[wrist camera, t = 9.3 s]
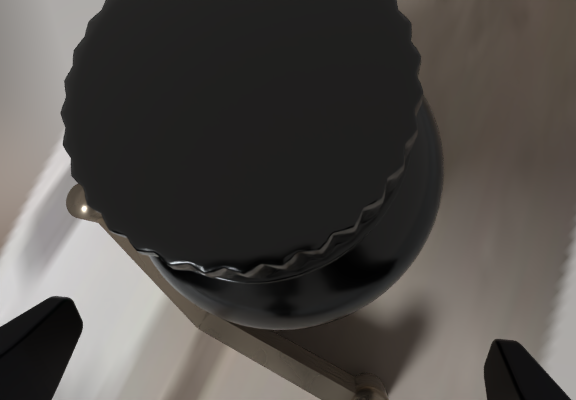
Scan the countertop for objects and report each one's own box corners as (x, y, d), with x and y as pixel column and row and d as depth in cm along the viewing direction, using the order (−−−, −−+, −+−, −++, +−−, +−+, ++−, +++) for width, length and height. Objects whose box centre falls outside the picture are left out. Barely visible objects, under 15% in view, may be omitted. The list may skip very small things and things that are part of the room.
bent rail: (364, 433, 15) (367, 472, 12) (100, 228, 19) (49, 218, 16) (392, 388, 16) (403, 414, 12) (125, 193, 19) (81, 175, 16)
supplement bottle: (228, 305, 17) (-52, 361, 5) (233, 145, 18) (22, -107, 6) (401, 308, 16) (555, 383, 4) (393, 138, 17) (491, -174, 5)
